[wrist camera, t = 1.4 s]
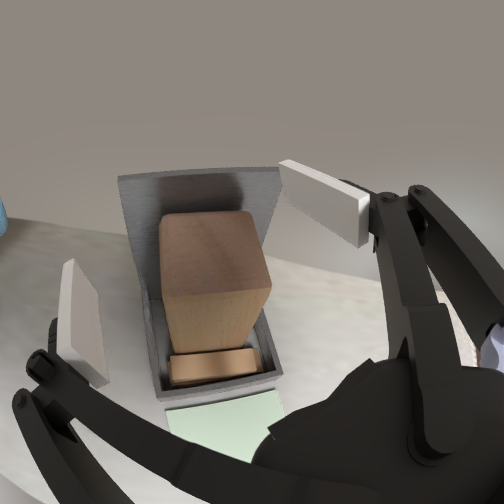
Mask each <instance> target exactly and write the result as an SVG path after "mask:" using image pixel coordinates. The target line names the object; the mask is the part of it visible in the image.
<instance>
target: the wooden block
mask: <svg viewBox="0 0 504 504" xmlns="http://www.w3.org/2000/svg"><path fill="white" fill-rule="evenodd" d="M159 244H160V270H161V288H162V297H163V303H164V308H165V313H166V318H167V323H168V328H169V333H170V337H171V342H172V346H173V350H174V353H175V355H176V356H179V355H192V354H204V353H214V352H223V351H232V350H240V349H242V347H243V345H244V343H245V341H246V339H247V337H248V335H249V333H250V331H251V330H252V328H253V326H254V324H255V322H256V320H257V318H258V316H259V314H260V312H261V310H262V308H263V306H264V304H265V302H266V300H267V298H268V296H269V294H270V292H271V287H272V283H271V279H270V276H269V272H268V269H267V265H266V262H265V258H264V255H263V251H262V248H261V244H260V241H259V238H258V234H257V231H256V227H255V224H254V220H253V217H252V215H251V214H250V212H247V211H221V212H198V213H179V214H167V215H165V216H163V217H162V220H161V222H160V224H159Z"/></svg>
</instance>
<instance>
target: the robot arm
mask: <svg viewBox="0 0 504 504" xmlns="http://www.w3.org/2000/svg"><path fill="white" fill-rule="evenodd" d="M278 164H279V170H280V176H281V181H282V187H283V192H284V198H285V202H287V203H288V204H290V205H291V206H293V207H295V208H296V209H298V210H300V211H301V212H303V213H304V214H306V215H308V216H309V217H311V218H313V219H314V220H315V221H317V222H319V223H320V224H322V225H323V226H325V227H326V228H328V229H329V230H331V231H333V232H334V233H336V234H337V235H339V236H340V237H342V238H343V239H345V240H346V241H348V242H349V243H351V244H353V245H354V246H355V247H357V248H360V247H361V246H363V245H364V244H366V243H367V242H368V237H369V232H370V233H372V234H373V235H374V246H373V253H375V250H376V254H377V260H378V266H379V272H380V278H381V284H382V291H383V298H384V305H385V313H386V321H387V331H388V341H389V357H388V359H387V360H382V361H379V362H376V363H374V362H373V361H372V360H371V359H370V358H369V359H368V360H366V361H365V362H364V363H363V364H361V365H360V366H359V367H357V368H356V369H355V370H353V371H352V372H351V373H349V374H348V375H347V376H346V377H345V379H344V380H343V381H342V382H341V383H340V385H339V386H338V387H337V388H336V389H335V390H334V392H333V393H332V394H331V395H330V396H329V397H328V398H327V399H326V400H324V401H321V402H318V403H316V404H313V405H310V406H308V407H305V408H302V409H299V410H296V411H294V412H292V413H290V414H289V415H287V416H285V417H284V418H282V419H280V420H279V421H277V422H275V423H274V424H272V425H270V426H268V427H267V429H268V430H269V432H270V433H271V434H268V435H267V436H266V437H265V438H264V440H263V441H262V442H261V443H260V444H259V446H258V448H257V449H256V451H255V453H254V455H253V457H252V461H251V463H248V462H245V461H242V460H239V459H236V458H233V457H231V456H228V455H225V454H222V453H220V452H217V451H214V450H212V449H209V448H207V447H204V446H202V445H199V444H197V443H194V442H189V441H187V440H185V439H182V438H180V437H178V436H176V435H174V434H172V433H170V432H167V431H165V430H163V429H161V428H159V427H157V426H156V425H154V424H152V423H150V422H148V421H146V420H144V419H142V418H141V417H139V416H137V415H135V414H133V413H132V412H130V411H128V410H126V409H125V408H123V407H121V406H120V405H118V404H116V403H115V402H113V401H112V400H110V399H108V398H107V397H105V396H104V395H102V394H101V393H99V392H98V391H96V390H95V389H93V388H92V387H90V386H89V383H90V384H92V385H93V386H94V387H95V388H99V387H101V386H103V385H106V384H108V383H110V381H109V376H108V370H107V365H106V359H105V353H104V346H103V339H102V331H101V323H100V314H99V303H98V293H97V292H96V290H95V289H94V287H93V286H92V284H91V283H90V281H89V280H88V279H87V277H86V276H85V274H84V273H83V271H82V270H81V268H80V266H79V265H78V263H77V262H76V260H75V259H74V258H73V259H71V260H70V261H68V262H66V263H64V264H63V271H62V279H61V287H60V297H59V308H58V317H57V318H55V319H54V320H52V323H51V325H50V328H49V338H48V344H49V345H48V353H47V352H46V351H45V350H43V349H40V350H37V351H35V352H34V353H33V354H32V355H31V356H30V358H29V359H28V361H27V365H26V372H27V374H28V375H29V376H30V377H31V378H32V379H33V380H34V381H36V382H37V383H38V384H39V386H38V387H37V388H36V389H35V390H33V391H32V392H29V391H28V390H27V389H25V388H22V389H20V390H18V391H17V392H16V394H15V395H14V398H13V400H12V409H13V412H14V415H15V418H16V420H17V423H18V425H19V428H20V430H21V432H22V435H23V437H24V439H25V442H26V444H27V446H28V448H29V450H30V452H31V454H32V456H33V458H34V460H35V462H36V464H37V466H38V468H39V470H40V472H41V474H42V475H43V477H44V479H45V481H46V482H47V484H48V486H49V487H50V489H51V491H52V492H53V494H54V496H55V497H56V499H57V500H58V502H59V503H60V504H135V503H134V502H133V501H132V500H131V499H130V498H129V497H128V496H127V495H126V494H125V493H124V492H123V491H122V490H121V489H120V488H119V486H118V485H117V484H116V483H115V482H114V481H113V480H112V478H111V477H110V476H109V475H108V474H107V473H106V471H105V470H104V469H103V468H102V467H101V465H100V464H99V463H98V461H97V460H96V459H95V458H94V456H93V455H92V454H91V452H90V451H89V450H88V448H87V447H86V446H85V444H84V443H83V441H82V440H81V439H80V437H79V436H78V434H77V433H76V431H75V430H74V428H73V427H72V425H71V424H70V421H71V420H72V419H73V418H76V419H78V420H79V421H80V422H81V423H82V424H84V425H85V426H86V427H87V428H89V429H90V430H91V431H92V432H94V433H95V434H96V435H98V436H99V437H100V438H102V439H103V440H104V441H106V442H107V443H108V444H110V445H111V446H113V447H114V448H115V449H117V450H118V451H120V452H121V453H123V454H124V455H126V456H127V457H129V458H130V459H132V460H133V461H135V462H137V463H138V464H140V465H142V466H143V467H145V468H146V469H148V470H150V471H152V472H153V473H155V474H157V475H159V476H160V477H162V478H164V479H166V480H167V481H169V482H170V483H171V484H172V485H173V486H175V487H176V488H178V489H180V490H182V491H184V492H186V493H188V494H190V495H192V496H194V497H197V498H199V499H201V500H203V501H206V502H208V503H210V504H504V270H503V268H502V267H501V266H500V265H499V263H498V262H497V261H496V260H495V258H494V257H493V256H492V255H491V253H490V252H489V251H488V250H487V249H486V247H485V246H484V245H483V244H482V243H481V242H480V240H479V239H478V238H477V237H476V236H475V235H474V234H473V233H472V231H471V230H470V229H469V228H468V227H467V226H466V225H465V224H464V223H463V222H462V221H461V220H460V218H458V216H457V215H456V214H455V213H454V212H453V211H452V210H451V209H450V208H449V207H448V206H447V205H445V203H443V201H441V199H440V198H439V197H437V196H436V195H435V194H434V193H433V192H432V191H431V190H430V189H429V188H427V187H424V186H423V185H413V186H410V187H409V190H408V195H407V196H403V197H399V196H398V195H397V194H395V193H391V192H382V193H379V194H376V193H374V192H372V191H369V190H367V189H365V188H363V187H360V186H358V185H355V184H354V183H351V182H350V181H346V180H341V179H335V178H333V177H331V176H328V175H326V174H324V173H321V172H319V171H316V170H314V169H312V168H309V167H306V166H304V165H302V164H299V163H297V162H294V161H292V160H289V159H288V160H285V161H282V162H280V163H278ZM427 224H428V225H427ZM7 227H8V219H7V215H6V212H5V209H4V206H3V203H2V201H1V199H0V237H1V236H2V235H3V234H4V233H5V232H6V230H7ZM427 265H428V267H429V268H430V270H431V271H432V273H433V274H434V276H435V278H436V279H437V281H438V282H439V284H440V286H441V287H442V289H443V291H444V292H445V294H446V295H447V297H448V299H449V301H450V302H451V304H452V306H453V307H454V309H455V311H456V313H457V315H458V316H459V318H460V320H461V322H462V324H463V326H464V327H465V329H466V331H467V333H468V335H469V336H470V338H471V340H472V342H473V343H474V344H475V346H476V347H477V348H478V350H479V351H480V352H481V360H480V367H470V366H461V361H460V356H459V351H458V347H457V342H456V338H455V334H454V330H453V326H452V322H451V318H450V314H449V311H448V308H447V306H446V304H445V303H439V302H438V299H437V296H436V292H435V289H434V286H433V283H432V279H431V276H430V273H429V270H428V267H427ZM272 436H273V437H272Z"/></svg>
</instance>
